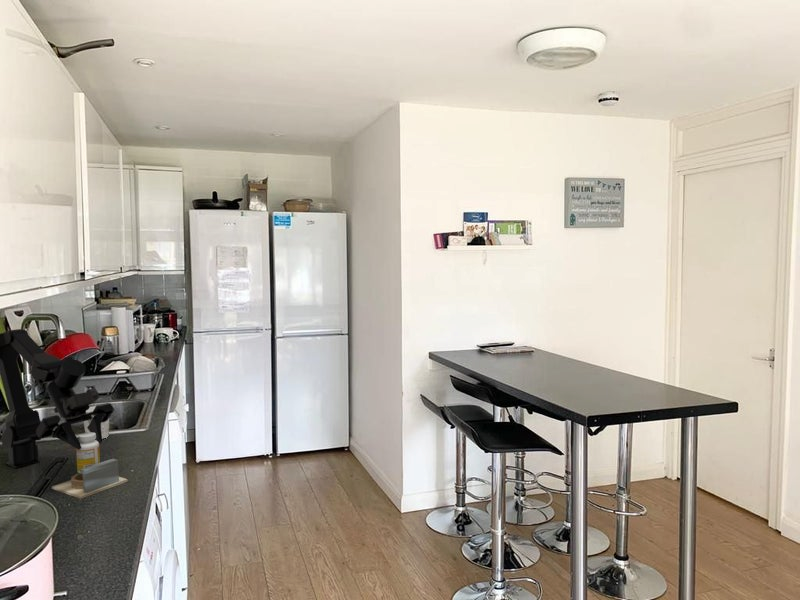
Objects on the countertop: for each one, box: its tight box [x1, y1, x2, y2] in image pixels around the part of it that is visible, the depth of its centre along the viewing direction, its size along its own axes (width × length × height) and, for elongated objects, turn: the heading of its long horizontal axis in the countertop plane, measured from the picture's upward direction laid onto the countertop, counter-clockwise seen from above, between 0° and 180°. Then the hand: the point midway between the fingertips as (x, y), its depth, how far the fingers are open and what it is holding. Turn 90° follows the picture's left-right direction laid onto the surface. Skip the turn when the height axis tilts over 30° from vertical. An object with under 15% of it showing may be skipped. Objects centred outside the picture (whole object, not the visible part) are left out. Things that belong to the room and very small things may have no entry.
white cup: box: [83, 405, 110, 439], centre depth 198 cm, size 8×8×10 cm
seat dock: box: [51, 458, 128, 500], centre depth 158 cm, size 13×13×6 cm
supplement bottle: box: [75, 432, 101, 474], centre depth 157 cm, size 5×5×10 cm
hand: (90, 445), depth 156 cm, fingers closed on supplement bottle, 5 cm apart
